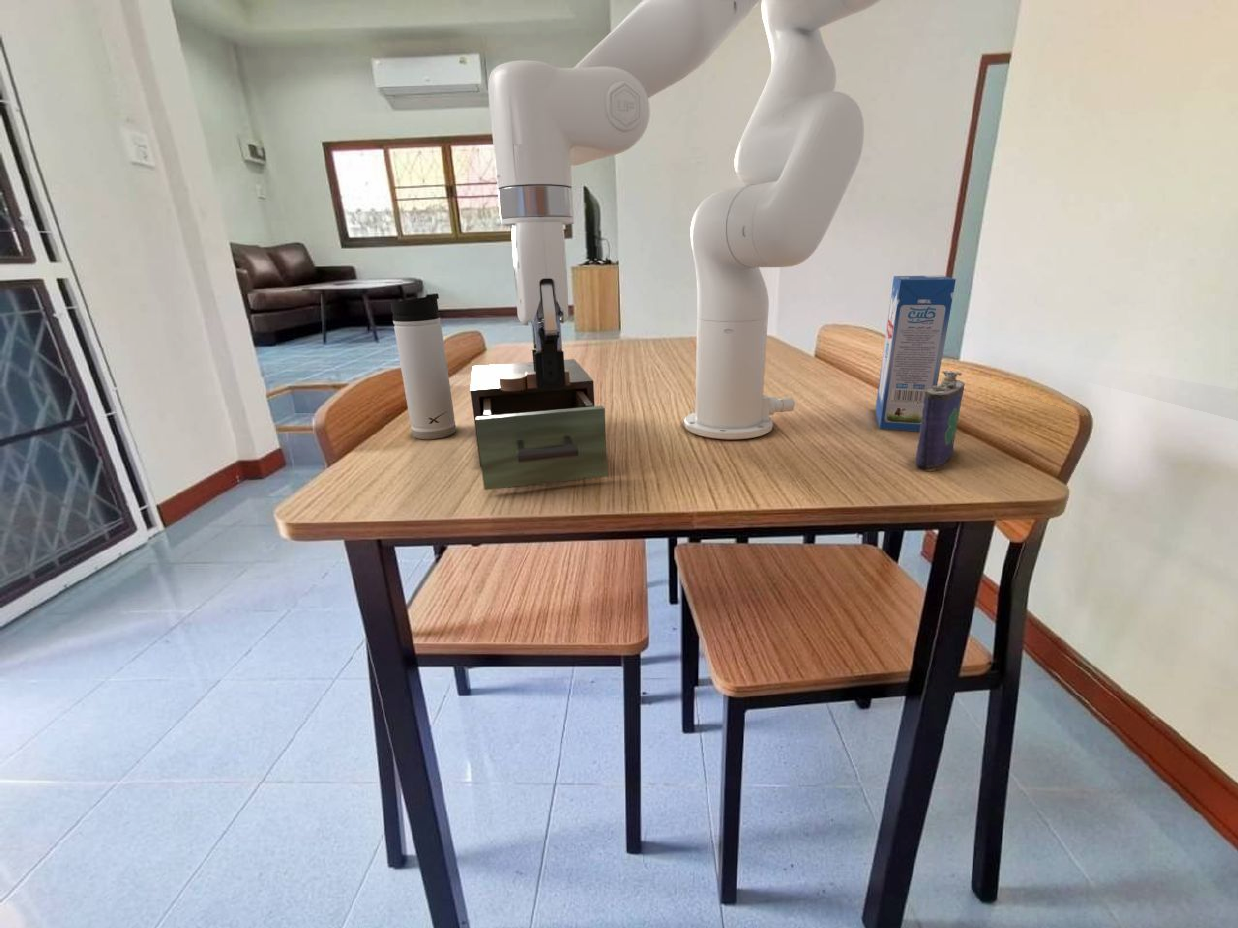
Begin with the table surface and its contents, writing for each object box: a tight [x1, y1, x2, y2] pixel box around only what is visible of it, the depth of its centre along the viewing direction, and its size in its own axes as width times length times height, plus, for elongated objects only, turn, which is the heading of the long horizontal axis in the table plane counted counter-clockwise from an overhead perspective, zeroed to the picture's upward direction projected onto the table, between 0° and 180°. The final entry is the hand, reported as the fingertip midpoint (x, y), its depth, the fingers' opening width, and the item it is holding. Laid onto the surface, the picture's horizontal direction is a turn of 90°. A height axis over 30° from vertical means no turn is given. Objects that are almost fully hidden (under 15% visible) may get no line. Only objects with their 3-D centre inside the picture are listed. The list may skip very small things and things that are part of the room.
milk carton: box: [875, 274, 957, 432], centre depth 79 cm, size 10×6×20 cm, turn 160°
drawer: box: [475, 389, 608, 491], centre depth 65 cm, size 20×14×8 cm
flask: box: [913, 370, 965, 472], centre depth 65 cm, size 9×3×11 cm, turn 138°
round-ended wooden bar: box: [499, 369, 570, 391], centre depth 63 cm, size 8×3×2 cm, turn 103°
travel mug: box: [390, 292, 457, 440], centre depth 80 cm, size 6×7×20 cm
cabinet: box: [469, 358, 596, 468], centre depth 76 cm, size 16×15×10 cm
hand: (550, 384), depth 64 cm, fingers closed on round-ended wooden bar, 1 cm apart
